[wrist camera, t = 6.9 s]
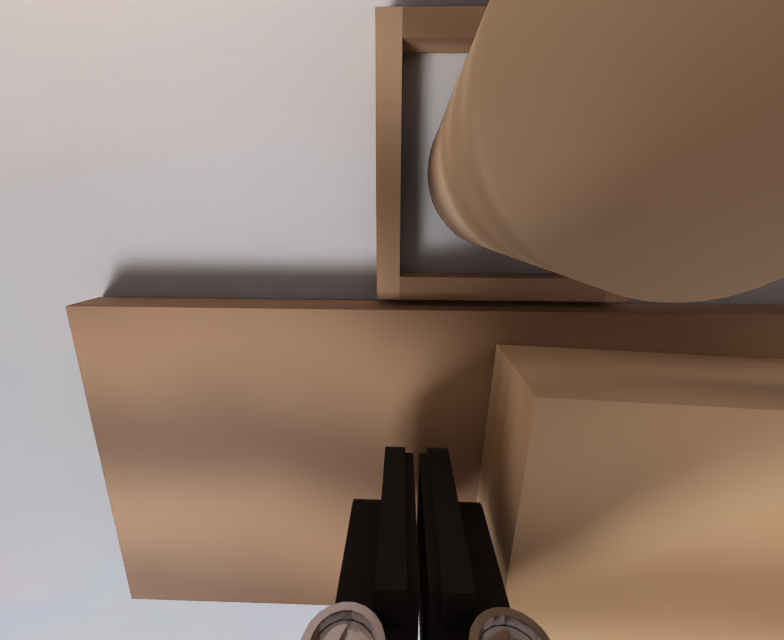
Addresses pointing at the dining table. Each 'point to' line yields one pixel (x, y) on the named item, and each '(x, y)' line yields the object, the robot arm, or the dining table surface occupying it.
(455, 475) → the board
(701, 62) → the dowel
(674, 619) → the thick square wood block
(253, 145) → the dining table surface
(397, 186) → the socket ring
